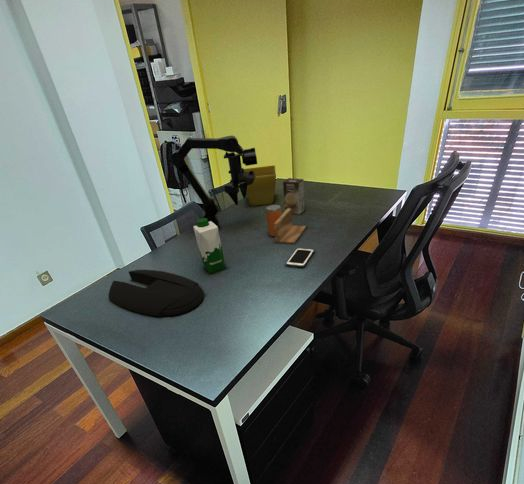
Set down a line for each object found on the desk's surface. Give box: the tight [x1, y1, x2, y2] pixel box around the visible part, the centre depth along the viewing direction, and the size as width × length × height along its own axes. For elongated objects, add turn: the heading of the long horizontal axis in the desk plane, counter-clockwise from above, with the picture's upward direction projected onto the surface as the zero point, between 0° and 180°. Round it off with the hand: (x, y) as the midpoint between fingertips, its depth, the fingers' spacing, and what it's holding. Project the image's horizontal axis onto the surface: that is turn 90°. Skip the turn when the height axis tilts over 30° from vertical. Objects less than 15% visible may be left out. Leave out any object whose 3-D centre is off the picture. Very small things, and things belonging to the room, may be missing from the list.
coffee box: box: [282, 177, 305, 215], centre depth 172 cm, size 9×6×16 cm
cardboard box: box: [244, 164, 277, 207], centre depth 191 cm, size 19×19×17 cm
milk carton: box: [192, 217, 226, 275], centre depth 132 cm, size 9×9×20 cm
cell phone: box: [285, 247, 315, 268], centre depth 136 cm, size 8×15×1 cm, turn 156°
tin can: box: [265, 204, 282, 238], centre depth 154 cm, size 7×7×13 cm
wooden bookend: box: [274, 208, 307, 245], centre depth 152 cm, size 9×18×9 cm, turn 157°
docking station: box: [108, 269, 205, 318], centre depth 125 cm, size 25×41×5 cm, turn 58°
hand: (240, 201), depth 164 cm, fingers open, 9 cm apart
